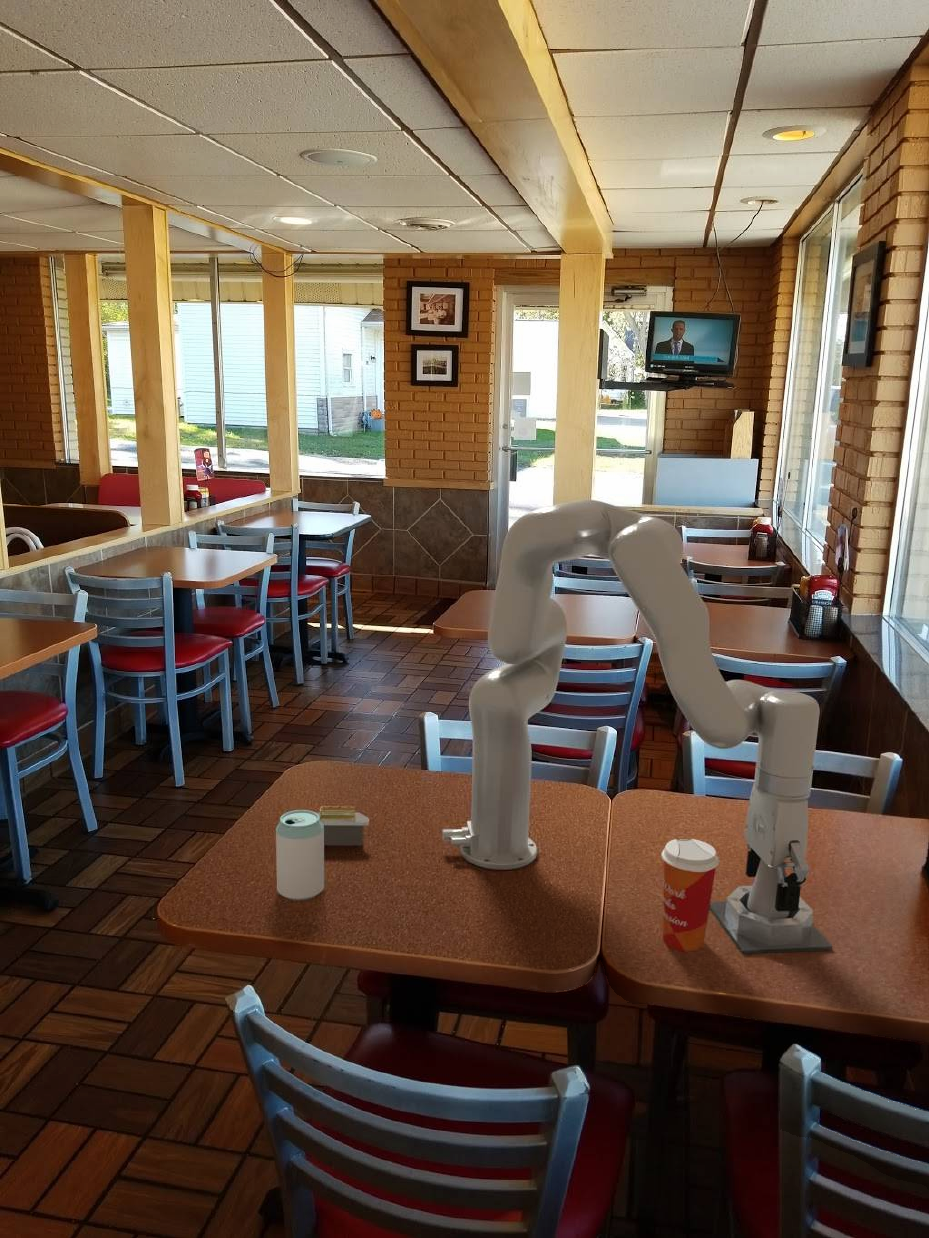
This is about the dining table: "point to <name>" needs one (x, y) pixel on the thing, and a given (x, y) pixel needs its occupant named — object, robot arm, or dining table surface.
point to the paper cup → (687, 892)
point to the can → (300, 855)
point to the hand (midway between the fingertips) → (770, 892)
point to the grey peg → (765, 893)
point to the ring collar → (767, 927)
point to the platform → (343, 826)
